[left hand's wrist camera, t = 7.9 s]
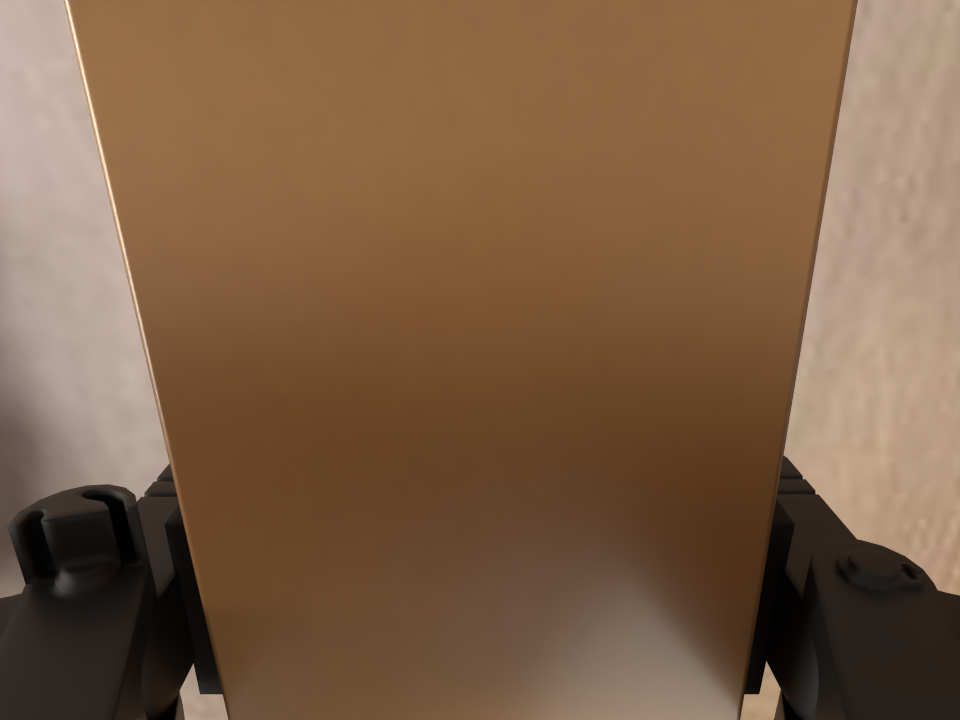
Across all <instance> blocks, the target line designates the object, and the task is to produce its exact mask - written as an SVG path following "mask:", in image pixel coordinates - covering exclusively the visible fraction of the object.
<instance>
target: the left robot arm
mask: <svg viewBox="0 0 960 720" xmlns="http://www.w3.org/2000/svg"><path fill="white" fill-rule="evenodd" d="M802 477H803V476H802V475H801V473H800V472H799V471H798V470H797V469H796V468H795V466H794V465H793V464H792V463H791V462H790V461H789V459H788V458H787V457H785V456H783V460H782V466H781V472H780V479H779V485H778V491H777V497H776V503H775V509H774V515H773V521H772V527H771V534H770V540H769V546H768V552H767V558H766V564H765V570H764V576H763V583H762V589H761V595H760V601H759V607H758V613H757V619H756V625H755V631H754V638H753V644H752V650H751V656H750V662H749V668H748V674H747V680H746V687H745V693H744V694H759V693H760V688H761V683H762V678H763V674H764V669H765V664H766V661H767V663H768V665H769V667H770V669H771V671H772V672H773V674H774V676H775V678H776V680H777V682H778V684H779V686H780V688H781V691H780V696H779V700H778V704H777V709H776V713H775V718H774V720H960V596H959V595H954V594H949V593H946V592H942V591H938V590H937V588H936V586H935V584H934V583H933V582H932V580H931V579H930V578H929V576H928V575H927V574H926V573H925V571H924V570H923V569H922V568H920V567H919V566H918V565H916V564H915V563H914V562H912V561H911V560H909V559H908V558H907V557H905V556H903V555H901V554H899V553H897V552H895V551H892V550H890V549H888V548H886V547H884V546H881V545H877V544H873V543H870V542H866V541H862V540H857V539H856V538H855V537H854V535H853V534H852V533H851V532H850V531H849V530H848V528H847V527H846V526H845V525H844V524H843V522H842V521H841V520H840V519H839V518H838V517H837V515H836V514H835V513H834V512H833V511H832V510H831V508H830V507H829V506H828V505H827V504H826V503H825V501H824V500H823V499H822V498H821V497H820V496H819V495H816V494H815V490H814V489H813V487H812V486H811V485H810V484H809V483H808V482H807V480H806V479H803V478H802ZM144 494H145V495H144V497H141V498H140V499H139V500H138V501H137V502H136V497H135V495H134V494H133V493H132V492H130V491H129V490H128V489H126V488H124V487H119V486H114V485H108V484H107V485H90V486H83V487H78V488H74V489H70V490H65V491H62V492H59V493H57V494H54V495H52V496H49V497H47V498H44V499H42V500H39V501H37V502H36V503H34V504H33V505H31V506H29V507H28V508H26V509H25V510H23V511H21V512H20V513H19V514H18V515H17V516H16V517H15V518H14V519H13V520H12V521H11V522H10V523H9V525H8V526H7V527H8V530H9V533H10V536H11V539H12V542H13V545H14V549H15V552H16V555H17V558H18V561H19V564H20V567H21V571H22V574H23V577H24V580H25V583H26V586H25V588H24V590H23V592H22V594H18V595H14V596H10V597H5V598H0V720H185V718H184V711H183V704H182V700H181V696H180V691H179V690H180V688H181V687H182V685H183V683H184V681H185V679H186V677H187V675H188V673H189V671H190V669H191V667H192V665H193V663H194V667H195V672H196V677H197V681H198V686H199V691H200V694H223V693H222V688H221V684H220V680H219V675H218V671H217V667H216V662H215V658H214V654H213V649H212V645H211V640H210V636H209V632H208V627H207V623H206V619H205V614H204V610H203V606H202V601H201V597H200V592H199V588H198V584H197V579H196V575H195V571H194V566H193V562H192V558H191V553H190V549H189V544H188V540H187V536H186V531H185V527H184V523H183V518H182V514H181V509H180V505H179V501H178V496H177V492H176V488H175V483H174V479H173V475H172V470H171V466H170V464H169V465H168V466H167V467H166V468H165V470H164V471H163V472H162V473H161V474H160V475H159V477H158V478H157V482H153V484H152V485H151V486H150V487H149V488H148V490H147V491H146V492H145V493H144Z"/></svg>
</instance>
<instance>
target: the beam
mask: <svg viewBox="0 0 960 720" xmlns="http://www.w3.org/2000/svg"><path fill="white" fill-rule="evenodd" d="M857 1H858V0H64V3H65V7H66V12H67V16H68V21H69V25H70V29H71V34H72V38H73V42H74V47H75V51H76V55H77V60H78V64H79V69H80V73H81V77H82V82H83V86H84V90H85V95H86V99H87V103H88V108H89V112H90V117H91V121H92V125H93V130H94V134H95V138H96V143H97V147H98V151H99V156H100V160H101V165H102V169H103V173H104V178H105V182H106V186H107V191H108V195H109V200H110V204H111V208H112V213H113V217H114V221H115V226H116V230H117V234H118V239H119V243H120V248H121V252H122V256H123V261H124V265H125V269H126V274H127V278H128V282H129V287H130V291H131V296H132V300H133V304H134V309H135V313H136V317H137V322H138V326H139V330H140V335H141V339H142V344H143V348H144V352H145V357H146V361H147V365H148V370H149V374H150V379H151V383H152V387H153V392H154V396H155V400H156V405H157V409H158V413H159V418H160V422H161V427H162V431H163V435H164V440H165V444H166V448H167V453H168V457H169V461H170V466H171V470H172V475H173V479H174V483H175V488H176V492H177V496H178V501H179V505H180V509H181V514H182V518H183V523H184V527H185V531H186V536H187V540H188V544H189V549H190V553H191V558H192V562H193V566H194V571H195V575H196V579H197V584H198V588H199V592H200V597H201V601H202V606H203V610H204V614H205V619H206V623H207V627H208V632H209V636H210V640H211V645H212V649H213V654H214V658H215V662H216V667H217V671H218V675H219V680H220V684H221V688H222V693H223V697H224V702H225V706H226V710H227V715H228V719H229V720H740V717H741V711H742V705H743V699H744V693H745V687H746V680H747V674H748V668H749V662H750V656H751V650H752V644H753V638H754V631H755V625H756V619H757V613H758V607H759V601H760V595H761V589H762V583H763V576H764V570H765V564H766V558H767V552H768V546H769V540H770V534H771V527H772V521H773V515H774V509H775V503H776V497H777V491H778V485H779V479H780V472H781V466H782V460H783V454H784V448H785V442H786V436H787V430H788V424H789V417H790V411H791V405H792V399H793V393H794V387H795V381H796V375H797V368H798V362H799V356H800V350H801V344H802V338H803V332H804V326H805V320H806V313H807V307H808V301H809V295H810V289H811V283H812V277H813V271H814V264H815V258H816V252H817V246H818V240H819V234H820V228H821V222H822V216H823V209H824V203H825V197H826V191H827V185H828V179H829V173H830V167H831V161H832V154H833V148H834V142H835V136H836V130H837V124H838V118H839V112H840V105H841V99H842V93H843V87H844V81H845V75H846V69H847V63H848V57H849V50H850V44H851V38H852V32H853V26H854V20H855V14H856V8H857Z"/></svg>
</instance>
